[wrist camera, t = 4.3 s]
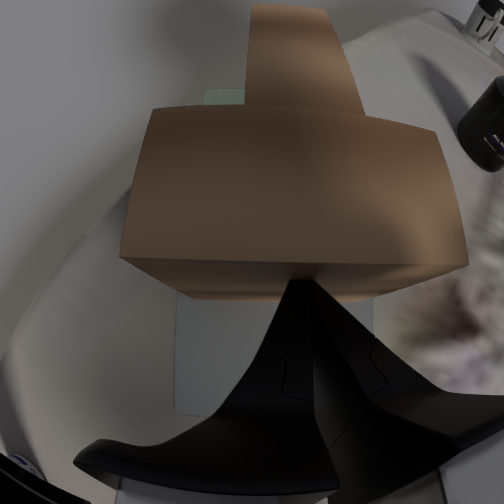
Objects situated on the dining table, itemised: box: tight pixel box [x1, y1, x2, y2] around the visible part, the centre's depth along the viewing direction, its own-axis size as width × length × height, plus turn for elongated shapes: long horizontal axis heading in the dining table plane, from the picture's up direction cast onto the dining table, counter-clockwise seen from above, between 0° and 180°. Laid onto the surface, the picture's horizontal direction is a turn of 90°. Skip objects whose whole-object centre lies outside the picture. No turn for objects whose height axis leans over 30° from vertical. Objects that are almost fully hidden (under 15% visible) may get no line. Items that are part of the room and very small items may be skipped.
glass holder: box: [460, 0, 504, 56], centre depth 23 cm, size 9×14×15 cm, turn 146°
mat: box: [174, 89, 373, 417], centre depth 18 cm, size 24×12×1 cm, turn 179°
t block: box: [119, 3, 469, 302], centre depth 13 cm, size 14×10×10 cm
